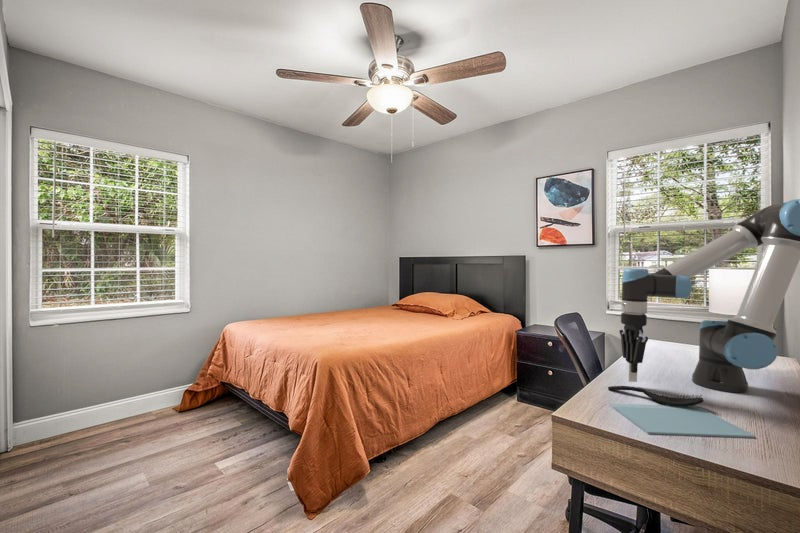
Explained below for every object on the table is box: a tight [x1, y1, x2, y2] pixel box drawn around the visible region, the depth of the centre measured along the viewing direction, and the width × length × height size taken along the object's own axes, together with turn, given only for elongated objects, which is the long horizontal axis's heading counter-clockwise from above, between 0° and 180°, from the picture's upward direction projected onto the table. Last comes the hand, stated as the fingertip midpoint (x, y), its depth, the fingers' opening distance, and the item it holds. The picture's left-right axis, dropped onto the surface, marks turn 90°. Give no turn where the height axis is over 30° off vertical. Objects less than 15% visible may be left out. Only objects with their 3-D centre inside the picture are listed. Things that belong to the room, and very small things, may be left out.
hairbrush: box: [607, 385, 704, 407], centre depth 117 cm, size 8×4×25 cm
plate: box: [606, 402, 756, 439], centre depth 103 cm, size 26×20×1 cm
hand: (631, 380), depth 129 cm, fingers closed
